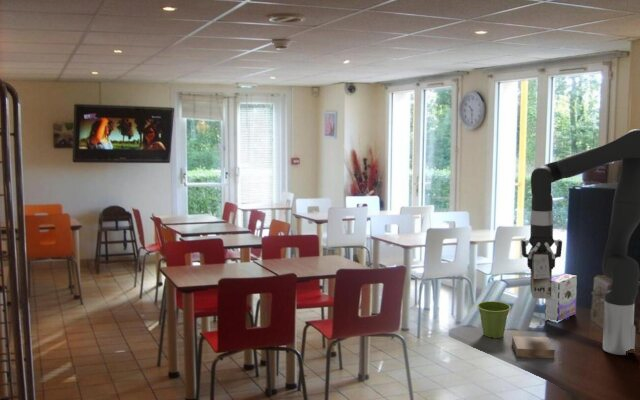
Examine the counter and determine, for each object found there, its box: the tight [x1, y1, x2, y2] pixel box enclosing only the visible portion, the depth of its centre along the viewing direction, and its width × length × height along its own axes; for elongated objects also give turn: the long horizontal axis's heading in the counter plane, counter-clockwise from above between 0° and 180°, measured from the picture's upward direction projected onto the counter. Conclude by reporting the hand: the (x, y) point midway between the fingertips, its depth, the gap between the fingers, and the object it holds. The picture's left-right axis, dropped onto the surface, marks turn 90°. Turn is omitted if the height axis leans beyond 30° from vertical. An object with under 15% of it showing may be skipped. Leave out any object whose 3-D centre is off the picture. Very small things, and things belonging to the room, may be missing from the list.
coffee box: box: [530, 251, 553, 300], centre depth 236 cm, size 9×6×16 cm
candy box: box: [544, 273, 578, 321], centre depth 260 cm, size 14×6×16 cm, turn 130°
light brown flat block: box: [511, 335, 556, 359], centre depth 228 cm, size 12×12×3 cm
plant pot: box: [476, 300, 512, 339], centre depth 243 cm, size 12×12×11 cm
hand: (541, 268), depth 236 cm, fingers closed on coffee box, 6 cm apart
